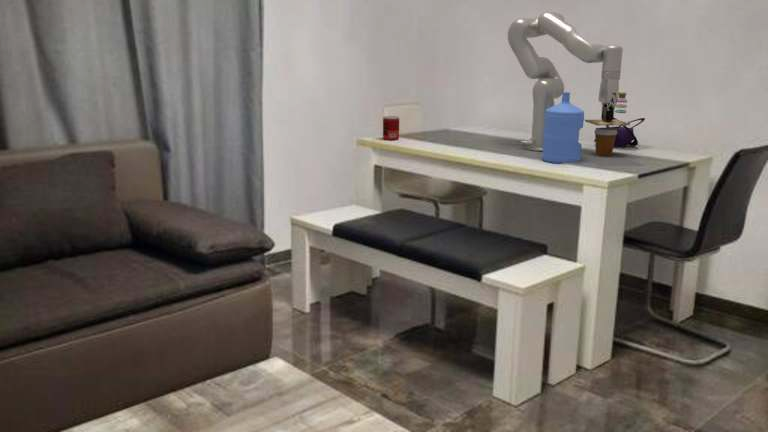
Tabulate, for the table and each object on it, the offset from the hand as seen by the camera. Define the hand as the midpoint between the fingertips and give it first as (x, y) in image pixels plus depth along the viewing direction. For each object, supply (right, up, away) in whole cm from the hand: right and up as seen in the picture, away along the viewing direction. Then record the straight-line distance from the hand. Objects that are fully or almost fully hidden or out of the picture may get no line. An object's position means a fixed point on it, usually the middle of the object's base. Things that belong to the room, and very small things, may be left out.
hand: (607, 119), depth 307 cm
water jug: (-21, -18, -7) cm, 29 cm away
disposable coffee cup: (0, -16, +4) cm, 16 cm away
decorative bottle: (+15, -9, +32) cm, 36 cm away
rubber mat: (-1, -20, -13) cm, 24 cm away
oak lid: (0, -2, 0) cm, 2 cm away
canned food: (-91, -4, +45) cm, 102 cm away
